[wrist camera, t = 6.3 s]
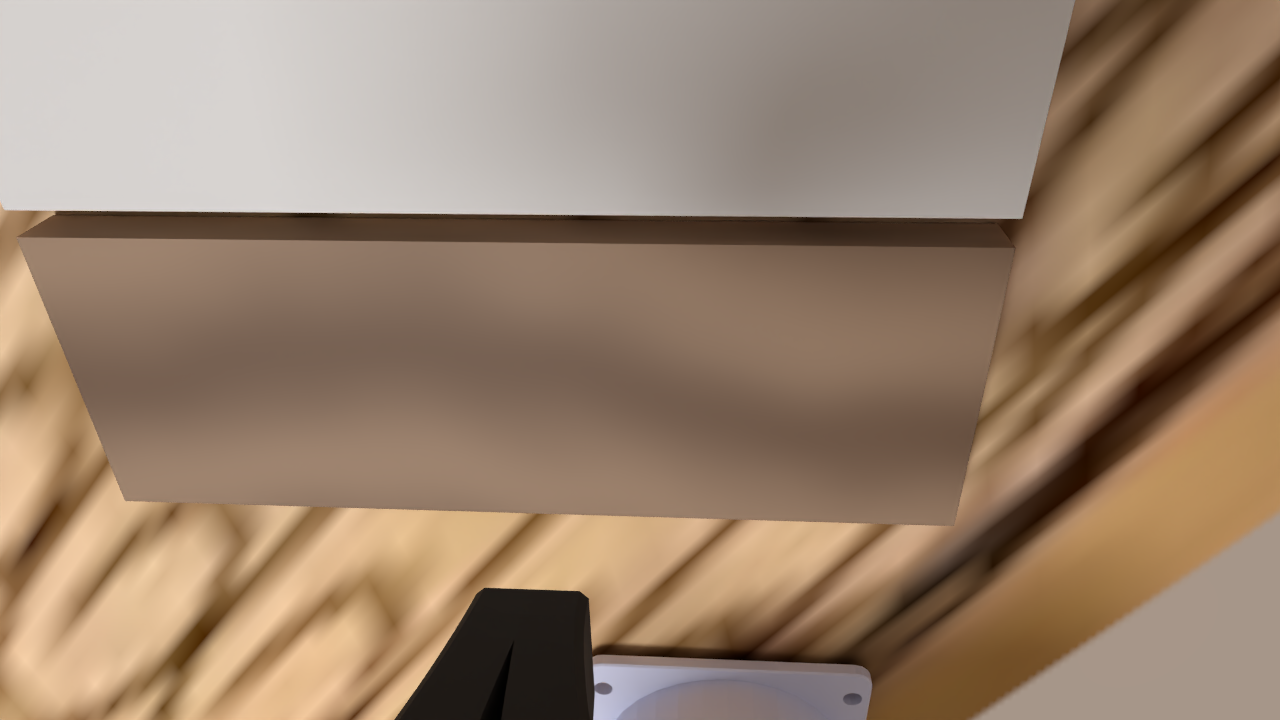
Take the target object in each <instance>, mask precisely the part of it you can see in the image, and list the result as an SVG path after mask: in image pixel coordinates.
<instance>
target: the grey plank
mask: <svg viewBox="0 0 1280 720" xmlns="http://www.w3.org/2000/svg"><path fill="white" fill-rule="evenodd" d="M1074 3H1075V0H0V202H1V204H2V206H3V208H4V210H52V211H168V212H285V213H402V214H518V215H635V216H752V217H868V218H985V219H1022V218H1023V214H1024V210H1025V205H1026V201H1027V197H1028V193H1029V189H1030V185H1031V181H1032V177H1033V172H1034V168H1035V164H1036V160H1037V156H1038V152H1039V148H1040V144H1041V139H1042V135H1043V131H1044V127H1045V123H1046V119H1047V115H1048V111H1049V106H1050V102H1051V98H1052V94H1053V90H1054V86H1055V82H1056V78H1057V73H1058V69H1059V65H1060V61H1061V57H1062V53H1063V49H1064V45H1065V40H1066V36H1067V32H1068V28H1069V24H1070V20H1071V16H1072V12H1073V7H1074Z"/></svg>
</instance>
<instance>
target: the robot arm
mask: <svg viewBox="0 0 1280 720" xmlns="http://www.w3.org/2000/svg"><path fill="white" fill-rule="evenodd" d="M602 682H604V683H602ZM871 691H872V681H871V676H870V673H869V671H868V670H867V669H866V668H864V667H862V666H858V665H847V664H822V663H798V662H773V661H748V660H723V659H699V658H674V657H649V656H625V655H597V656H594V657H592V642H591V627H590V612H589V598H587V597H586V596H585V595H584V594H582V593H581V592H580V591H556V590H528V589H500V588H484V589H482V590H481V591H480V592H479V593H477V594H476V596H475V598H474V599H473V601H472V603H471V605H470V606H469V608H468V610H467V612H466V613H465V615H464V617H463V618H462V620H461V621H460V623H459V625H458V626H457V628H456V630H455V631H454V633H453V634H452V636H451V638H450V639H449V641H448V642H447V644H446V646H445V647H444V649H443V650H442V652H441V653H440V655H439V656H438V658H437V659H436V661H435V662H434V664H433V665H432V667H431V668H430V670H429V671H428V673H427V674H426V676H425V677H424V679H423V680H422V682H421V683H420V685H419V686H418V687H417V689H416V690H415V692H414V693H413V694H412V696H411V697H410V699H409V700H408V702H407V703H406V704H405V706H404V707H403V709H402V710H401V711H400V713H399V714H398V716H397V717H396V718H395V720H866V719H867V713H868V708H869V702H870V697H871ZM849 693H851V694H849Z"/></svg>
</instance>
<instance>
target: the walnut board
mask: <svg viewBox="0 0 1280 720" xmlns="http://www.w3.org/2000/svg"><path fill="white" fill-rule="evenodd" d="M16 238H17V240H18V243H19V245H20V247H21V250H22V252H23V255H24V257H25V260H26V262H27V264H28V267H29V269H30V272H31V274H32V277H33V279H34V281H35V284H36V286H37V289H38V291H39V293H40V296H41V298H42V301H43V303H44V306H45V308H46V310H47V313H48V315H49V318H50V320H51V323H52V325H53V327H54V330H55V332H56V335H57V337H58V339H59V342H60V344H61V347H62V349H63V352H64V354H65V356H66V359H67V361H68V364H69V366H70V369H71V371H72V373H73V376H74V378H75V381H76V383H77V385H78V388H79V390H80V393H81V395H82V398H83V400H84V402H85V405H86V407H87V410H88V412H89V415H90V417H91V419H92V422H93V424H94V427H95V429H96V431H97V434H98V436H99V439H100V441H101V444H102V446H103V448H104V451H105V453H106V456H107V458H108V461H109V463H110V465H111V468H112V470H113V473H114V475H115V477H116V480H117V482H118V485H119V487H120V490H121V492H122V494H123V497H124V499H125V501H145V502H178V503H211V504H244V505H277V506H310V507H343V508H376V509H409V510H442V511H475V512H508V513H541V514H574V515H607V516H640V517H673V518H706V519H739V520H772V521H805V522H838V523H871V524H904V525H937V526H954V524H955V519H956V515H957V510H958V506H959V501H960V497H961V492H962V488H963V483H964V479H965V474H966V470H967V465H968V461H969V456H970V452H971V447H972V443H973V438H974V433H975V429H976V424H977V420H978V415H979V411H980V406H981V402H982V397H983V393H984V388H985V384H986V379H987V375H988V370H989V366H990V361H991V357H992V352H993V348H994V343H995V338H996V334H997V329H998V325H999V320H1000V316H1001V311H1002V307H1003V302H1004V298H1005V293H1006V289H1007V284H1008V280H1009V275H1010V271H1011V266H1012V262H1013V257H1014V252H1015V247H1014V245H1013V244H1012V243H1011V241H1010V240H1009V238H1008V237H1007V236H1006V234H1005V233H1004V231H1003V230H1002V229H1001V227H1000V226H999V225H998V224H980V223H868V222H756V221H644V220H532V219H420V218H308V217H196V216H84V215H53V216H51V217H49V218H48V219H46V220H44V221H43V222H41V223H39V224H38V225H36V226H34V227H33V228H31V229H29V230H28V231H26V232H24V233H23V234H21V235H19V236H18V237H16Z"/></svg>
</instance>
